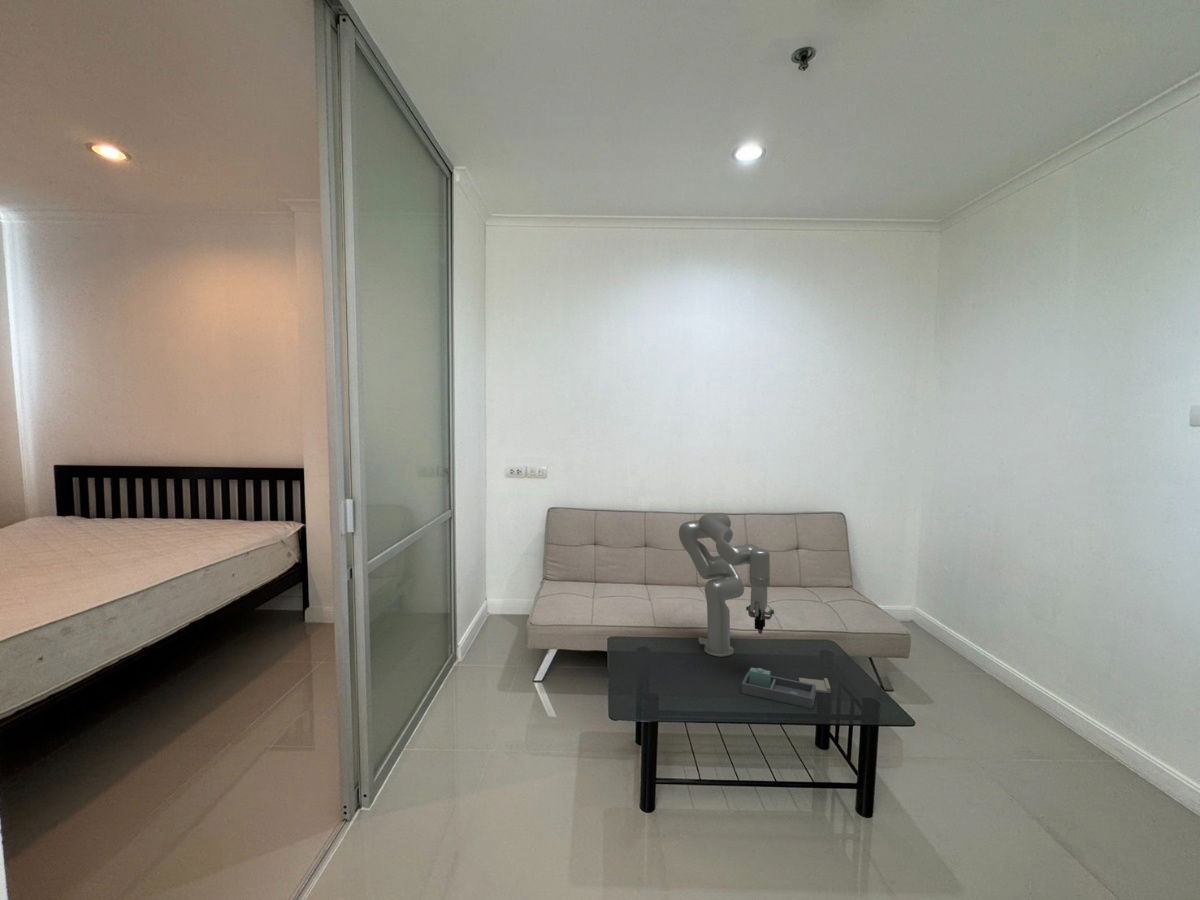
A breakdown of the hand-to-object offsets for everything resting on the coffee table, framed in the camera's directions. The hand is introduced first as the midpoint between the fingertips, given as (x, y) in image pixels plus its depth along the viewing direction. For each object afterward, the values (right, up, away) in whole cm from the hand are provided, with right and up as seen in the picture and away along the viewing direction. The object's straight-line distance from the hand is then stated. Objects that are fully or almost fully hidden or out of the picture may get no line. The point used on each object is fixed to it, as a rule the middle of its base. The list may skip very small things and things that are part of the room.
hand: (759, 627), depth 197 cm
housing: (+3, -19, -13) cm, 24 cm away
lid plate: (+18, -19, -8) cm, 27 cm away
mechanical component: (0, -2, 0) cm, 2 cm away
